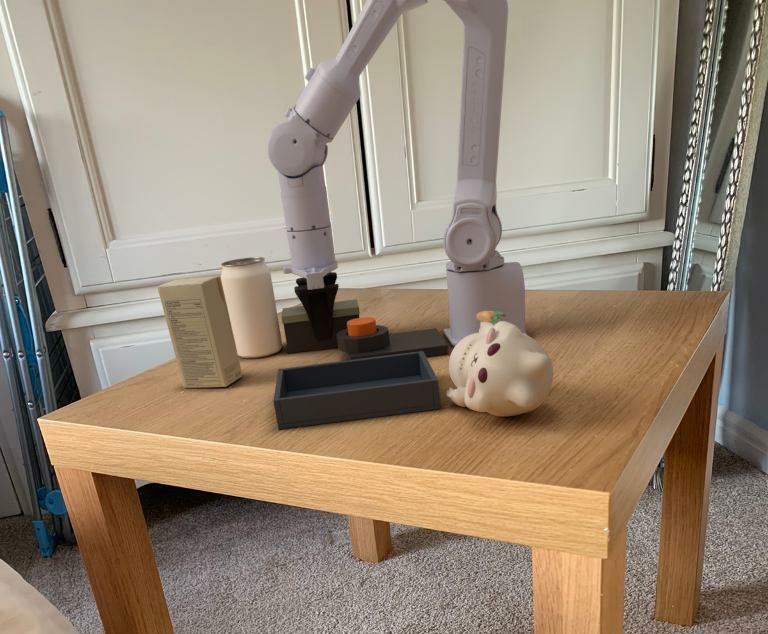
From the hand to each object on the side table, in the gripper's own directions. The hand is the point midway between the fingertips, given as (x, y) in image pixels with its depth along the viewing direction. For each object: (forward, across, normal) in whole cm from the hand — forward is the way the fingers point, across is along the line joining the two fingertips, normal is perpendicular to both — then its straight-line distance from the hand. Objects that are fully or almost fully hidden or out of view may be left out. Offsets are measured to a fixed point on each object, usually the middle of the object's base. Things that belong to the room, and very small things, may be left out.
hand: (323, 334), depth 102 cm
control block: (+1, +8, +9) cm, 12 cm away
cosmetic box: (+2, +12, -14) cm, 19 cm away
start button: (-1, +8, +5) cm, 10 cm away
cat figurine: (+2, +34, +17) cm, 38 cm away
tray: (+1, +26, +3) cm, 26 cm away
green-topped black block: (+1, 0, 0) cm, 1 cm away
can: (+2, 0, -9) cm, 9 cm away
